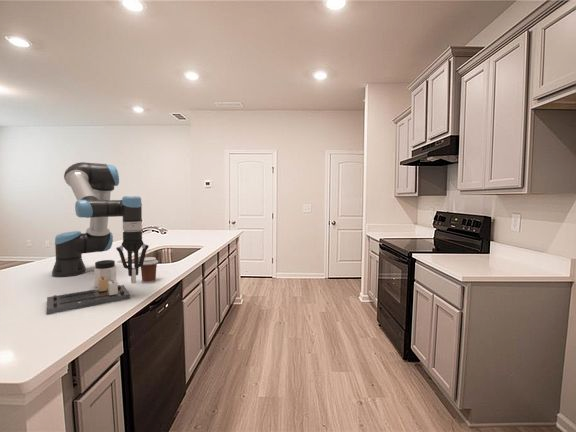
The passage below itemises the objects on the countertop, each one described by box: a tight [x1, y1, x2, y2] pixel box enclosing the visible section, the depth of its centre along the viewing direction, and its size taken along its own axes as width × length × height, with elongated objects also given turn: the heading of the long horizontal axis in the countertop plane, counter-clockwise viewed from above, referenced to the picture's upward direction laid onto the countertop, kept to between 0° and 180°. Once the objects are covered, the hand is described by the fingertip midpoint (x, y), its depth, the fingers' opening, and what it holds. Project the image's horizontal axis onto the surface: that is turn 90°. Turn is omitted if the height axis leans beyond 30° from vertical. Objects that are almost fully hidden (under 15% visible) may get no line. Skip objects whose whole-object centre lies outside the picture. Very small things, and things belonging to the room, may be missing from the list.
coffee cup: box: [140, 256, 159, 284], centre depth 150 cm, size 9×9×12 cm
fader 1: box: [97, 277, 108, 292], centre depth 128 cm, size 4×3×6 cm
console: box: [46, 284, 131, 315], centre depth 122 cm, size 16×28×3 cm, turn 129°
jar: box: [93, 259, 117, 288], centre depth 141 cm, size 9×8×12 cm
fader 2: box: [107, 279, 119, 295], centre depth 124 cm, size 4×3×6 cm
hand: (133, 282), depth 128 cm, fingers closed
